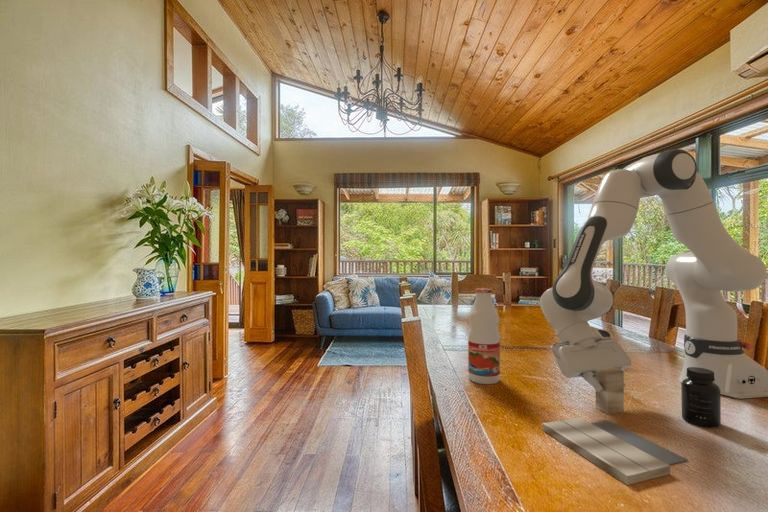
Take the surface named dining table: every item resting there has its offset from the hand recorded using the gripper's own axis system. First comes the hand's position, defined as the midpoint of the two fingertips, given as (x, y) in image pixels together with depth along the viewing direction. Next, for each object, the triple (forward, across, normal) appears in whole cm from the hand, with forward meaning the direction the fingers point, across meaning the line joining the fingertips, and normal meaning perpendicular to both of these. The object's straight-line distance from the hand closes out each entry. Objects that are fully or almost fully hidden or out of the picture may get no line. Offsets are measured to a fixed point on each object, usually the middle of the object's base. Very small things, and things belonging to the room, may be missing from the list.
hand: (611, 389), depth 90 cm
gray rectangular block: (+3, 0, +4) cm, 5 cm away
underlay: (+12, -9, -5) cm, 16 cm away
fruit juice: (-17, -17, +25) cm, 34 cm away
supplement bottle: (+12, +14, -4) cm, 18 cm away
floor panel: (+13, -18, -5) cm, 23 cm away
